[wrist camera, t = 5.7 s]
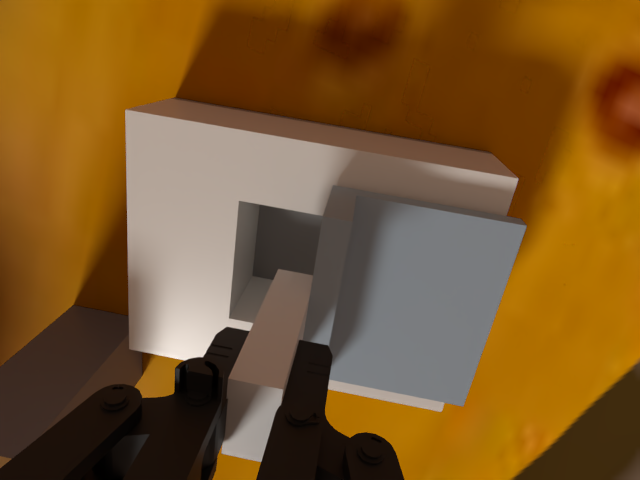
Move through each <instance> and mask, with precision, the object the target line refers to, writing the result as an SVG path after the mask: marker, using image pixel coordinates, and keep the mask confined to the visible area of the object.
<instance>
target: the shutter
mask: <svg viewBox="0 0 640 480" xmlns="http://www.w3.org/2000/svg"><path fill="white" fill-rule="evenodd" d="M526 227H527V225H526V224H525V223H524V222H523V221H522V219H519V218H514V217H508V216H502V215H497V214H491V213H486V212H480V211H475V210H469V209H463V208H458V207H452V206H447V205H441V204H436V203H430V202H424V201H419V200H413V199H408V198H402V197H397V196H391V195H385V194H380V193H374V192H369V191H363V190H358V189H352V188H346V187H341V186H335V185H333V187H332V190H331V193H330V196H329V199H328V202H327V205H326V208H325V211H324V214H323V218H322V224H321V230H320V236H319V242H318V249H317V255H316V261H315V267H314V273H313V279H312V285H311V292H310V298H309V304H308V310H307V316H306V322H305V329H304V335H303V341H308V342H314V343H319V344H324V345H328V346H329V348H330V351H331V353H332V355H333V358H332V365H331V371H330V378H329V380H334V381H339V382H344V383H349V384H354V385H359V386H364V387H369V388H374V389H379V390H384V391H389V392H394V393H399V394H404V395H409V396H414V397H419V398H424V399H429V400H434V401H439V402H444V403H449V404H454V405H459V406H464V403H465V400H466V397H467V394H468V391H469V389H470V386H471V383H472V380H473V377H474V374H475V372H476V369H477V366H478V363H479V360H480V357H481V355H482V352H483V349H484V346H485V343H486V340H487V338H488V335H489V332H490V329H491V326H492V323H493V321H494V318H495V315H496V312H497V309H498V307H499V304H500V301H501V298H502V295H503V292H504V290H505V287H506V284H507V281H508V278H509V275H510V273H511V270H512V267H513V264H514V261H515V258H516V256H517V253H518V250H519V247H520V244H521V241H522V239H523V236H524V233H525V230H526Z"/></svg>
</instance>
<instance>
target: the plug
mask: <svg viewBox="0 0 640 480" xmlns="http://www.w3.org/2000/svg"><path fill="white" fill-rule="evenodd" d="M141 377H142V352H141V351H136V350H131V349H129V316H126V315H121V314H116V313H111V312H106V311H101V310H96V309H91V308H86V307H81V306H76V305H73V306H72V307H71V308H69V309H68V310H67V311H66V312H65V313H63V314H62V315H61V316H60V317H59V318H58V319H56V320H55V321H54V322H53V323H52V324H50V325H49V326H48V327H47V328H46V329H44V330H43V331H42V332H41V333H40V334H39V335H37V336H36V337H35V338H34V339H33V340H31V341H30V342H29V343H28V344H27V345H26V346H24V347H23V348H22V349H21V350H20V351H18V352H17V353H16V354H15V355H14V356H13V357H11V358H10V359H9V360H8V361H7V362H5V363H4V364H3V365H2V366H1V367H0V468H1V467H2V466H4V465H5V464H6V463H7V462H9V461H10V460H11V459H12V458H14V457H15V456H16V455H17V454H19V453H20V452H21V451H22V450H24V449H25V448H26V447H27V446H29V445H30V444H31V443H32V442H34V441H35V440H36V439H37V438H39V437H40V436H41V435H42V434H44V433H45V432H46V431H47V430H49V429H50V428H51V427H52V426H54V425H55V424H56V423H57V422H59V421H60V420H61V419H62V418H64V417H65V416H66V415H67V414H69V413H70V412H71V411H72V410H74V409H75V408H76V407H77V406H79V405H80V404H81V403H82V402H84V401H85V400H86V399H87V398H89V397H90V396H91V395H92V394H94V393H95V392H97V391H98V390H100V389H102V388H103V387H107V386H110V385H114V384H126V385H130V386H133V387H135V385H136V384H137V382H138V381H139V380H140V378H141Z"/></svg>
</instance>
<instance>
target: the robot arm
mask: <svg viewBox="0 0 640 480" xmlns="http://www.w3.org/2000/svg"><path fill="white" fill-rule="evenodd" d="M312 279H313V275H308V274H303V273H297V272H292V271H287V270H281V269H278V271H277V273H276V275H275V277H274V279H273V282H272V284H271V286H270V288H269V290H268V293H267V295H266V297H265V299H264V301H263V303H262V306H261V308H260V310H259V312H258V314H257V317H256V319H255V321H254V323H253V325H252V327H251V330H250V331H247V330H242V329H237V328H232V327H226V328H224V329H223V330H221V331H220V332H218V333H217V334H216V335H215V337H214V339H213V340H212V342H211V344H210V346H209V347H208V349H207V351H206V354H204V356H203V357H196V358H190V359H187V360H185V361H183V362H181V363H180V364H179V365H178V366H177V367H176V368H175V392H174V394H172V395H169V396H165V397H157V398H142V395H141V393H140V391H139V390H138V389H136V388H135V387H133V386H130V385H126V384H114V385H110V386H107V387H103V388H102V389H100V390H98V391H97V392H95V393H94V394H92V395H91V396H90V397H89V398H87V399H86V400H85V401H84V402H82V403H81V404H80V405H79V406H77V407H76V408H75V409H74V410H72V411H71V412H70V413H69V414H67V415H66V416H65V417H64V418H62V419H61V420H60V421H59V422H57V423H56V424H55V425H54V426H52V427H51V428H50V429H49V430H47V431H46V432H45V433H44V434H42V435H41V436H40V437H39V438H37V439H36V440H35V441H34V442H32V443H31V444H30V445H29V446H27V447H26V448H25V449H24V450H22V451H21V452H20V453H19V454H17V455H16V456H15V457H14V458H12V459H11V460H10V461H9V462H7V463H6V464H5V465H4V466H2V467H1V468H0V480H212V479H213V476H214V474H215V471H216V465H217V455H218V453H219V450H220V448H221V445H222V443H223V445H222V454H226V455H231V456H235V457H240V458H245V459H250V460H254V461H259V462H261V465H260V468H259V472H258V475H257V479H256V480H404V477H403V474H402V471H401V468H400V465H399V462H398V458H397V455H396V453H395V451H394V449H393V447H392V445H391V444H390V443H389V442H388V441H386V440H385V439H384V438H382V437H380V436H378V435H376V434H372V433H366V432H365V433H358V434H356V435H354V436H352V437H351V438H349V437H347V436H345V435H343V434H341V433H340V432H338V431H336V430H335V429H334V428H333V427H332V426H331V425H330V424H329V422H328V421H327V419H326V416H325V404H326V398H327V391H328V384H329V378H330V371H331V365H332V358H333V355H332V353H331V351H330V348H329V346H328V345H324V344H319V343H314V342H308V341H303V335H304V329H305V322H306V316H307V310H308V304H309V298H310V292H311V285H312Z"/></svg>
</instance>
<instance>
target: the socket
mask: <svg viewBox="0 0 640 480" xmlns="http://www.w3.org/2000/svg"><path fill="white" fill-rule="evenodd" d="M125 118H126V180H127V242H128V304H129V349H131V350H136V351H141V352H146V353H151V354H156V355H161V356H166V357H171V358H176V359H181V360H187V359H190V358H196V357H203V356H204V354H206V351H207V349H208V347H209V346H210V344H211V342H212V340H213V339H214V337H215V335H216V334H217V333H218V332H220V331H221V330H223V329H224V328H226V327H232V328H237V329H242V330H247V331H250V330H251V327H252V325H253V323H254V321H255V319H256V317H257V314H258V312H259V310H260V308H261V306H262V303H263V301H264V299H265V297H266V295H267V293H268V290H269V288H270V286H271V284H272V282H273V279H274V277H275V275H276V273H277V271H278V269H281V270H287V271H292V272H297V273H303V274H308V275H313V273H314V267H315V261H316V255H317V249H318V242H319V236H320V230H321V224H322V218H323V214H324V211H325V208H326V205H327V202H328V199H329V196H330V193H331V190H332V187H333V185H335V186H341V187H346V188H352V189H358V190H363V191H369V192H374V193H380V194H385V195H391V196H397V197H402V198H408V199H413V200H419V201H424V202H430V203H436V204H441V205H447V206H452V207H458V208H463V209H469V210H475V211H480V212H486V213H491V214H497V215H502V216H507V213H508V210H509V207H510V204H511V201H512V198H513V195H514V192H515V188H516V185H517V182H518V179H519V178H518V177H517V176H516V175H514V174H513V173H512V172H511V171H510V170H509V169H508V168H507V167H506V166H505V165H504V164H503V163H502V162H501V161H499V160H498V159H497V158H496V157H495V156H494V155H493V154H492V153H491V152H487V151H481V150H475V149H469V148H464V147H458V146H452V145H446V144H441V143H435V142H429V141H423V140H417V139H412V138H406V137H400V136H394V135H389V134H383V133H377V132H371V131H365V130H360V129H354V128H348V127H342V126H337V125H331V124H325V123H319V122H313V121H308V120H302V119H296V118H290V117H285V116H279V115H273V114H267V113H261V112H256V111H250V110H244V109H238V108H233V107H227V106H221V105H215V104H209V103H204V102H198V101H192V100H186V99H181V98H171V99H167V100H162V101H158V102H154V103H150V104H146V105H142V106H138V107H134V108H130V109H126V110H125ZM328 389H330V390H335V391H340V392H345V393H350V394H355V395H360V396H365V397H370V398H375V399H380V400H385V401H390V402H395V403H400V404H405V405H410V406H415V407H420V408H425V409H430V410H434V411H439V412H442V409H443V406H444V402H439V401H434V400H429V399H424V398H419V397H414V396H409V395H404V394H399V393H394V392H389V391H384V390H379V389H374V388H369V387H364V386H359V385H354V384H349V383H344V382H339V381H334V380H329V384H328Z"/></svg>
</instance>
